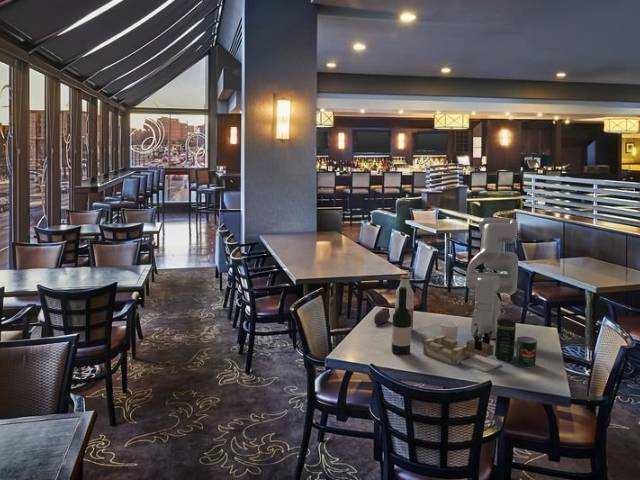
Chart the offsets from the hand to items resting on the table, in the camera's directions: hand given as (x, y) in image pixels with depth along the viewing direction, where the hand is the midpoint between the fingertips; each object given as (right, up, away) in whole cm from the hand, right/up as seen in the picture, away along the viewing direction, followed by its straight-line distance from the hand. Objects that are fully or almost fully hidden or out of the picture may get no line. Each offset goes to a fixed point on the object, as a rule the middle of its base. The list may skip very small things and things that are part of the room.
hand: (481, 347), depth 226 cm
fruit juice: (-26, -1, +48) cm, 54 cm away
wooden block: (-1, -2, +1) cm, 3 cm away
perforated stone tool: (-36, +1, +60) cm, 69 cm away
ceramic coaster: (0, -7, +1) cm, 7 cm away
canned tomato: (+19, -8, +1) cm, 20 cm away
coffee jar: (+13, -6, +10) cm, 18 cm away
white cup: (-8, -4, +25) cm, 27 cm away
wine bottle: (-32, -5, +15) cm, 36 cm away
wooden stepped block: (-12, -6, +11) cm, 17 cm away
